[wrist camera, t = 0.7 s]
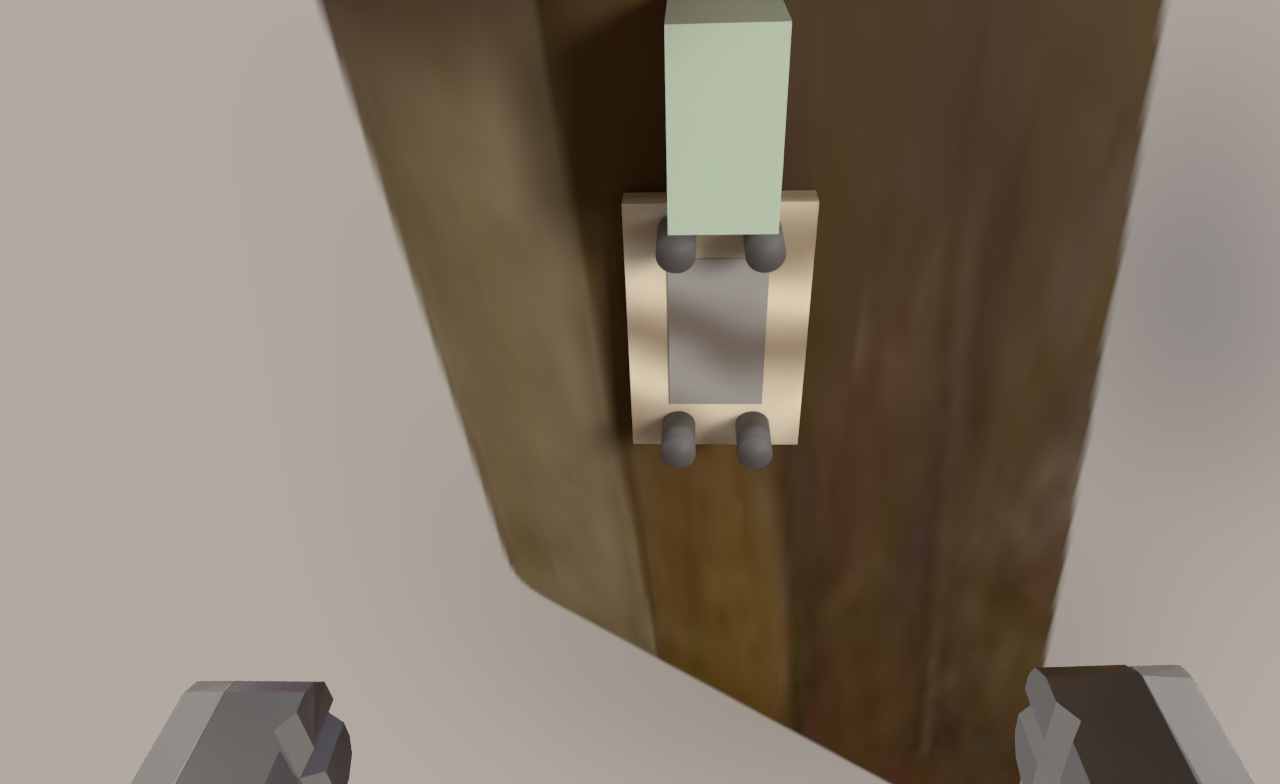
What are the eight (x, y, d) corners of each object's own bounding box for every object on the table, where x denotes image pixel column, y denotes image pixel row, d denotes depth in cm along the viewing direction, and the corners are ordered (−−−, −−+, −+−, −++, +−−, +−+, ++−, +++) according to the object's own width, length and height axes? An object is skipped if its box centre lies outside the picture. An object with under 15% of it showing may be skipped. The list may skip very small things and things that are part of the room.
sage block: (668, -10, 40) (664, 24, 34) (777, -13, 39) (792, 21, 34) (670, 178, 45) (667, 235, 39) (767, 177, 45) (778, 234, 39)
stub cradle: (623, 192, 45) (617, 227, 42) (815, 190, 45) (826, 225, 41) (634, 429, 54) (630, 474, 51) (794, 429, 54) (802, 475, 50)
